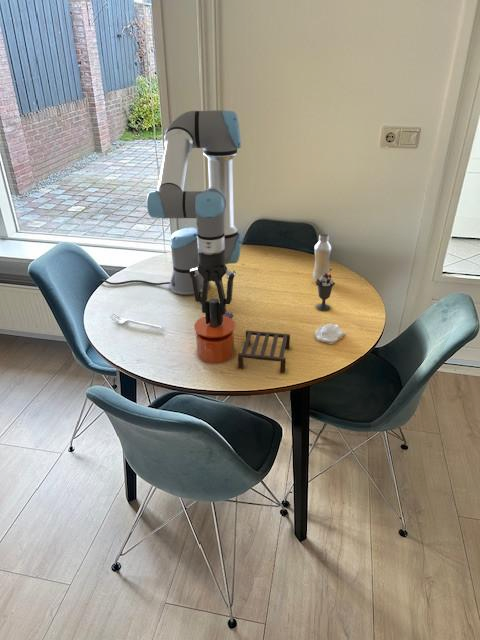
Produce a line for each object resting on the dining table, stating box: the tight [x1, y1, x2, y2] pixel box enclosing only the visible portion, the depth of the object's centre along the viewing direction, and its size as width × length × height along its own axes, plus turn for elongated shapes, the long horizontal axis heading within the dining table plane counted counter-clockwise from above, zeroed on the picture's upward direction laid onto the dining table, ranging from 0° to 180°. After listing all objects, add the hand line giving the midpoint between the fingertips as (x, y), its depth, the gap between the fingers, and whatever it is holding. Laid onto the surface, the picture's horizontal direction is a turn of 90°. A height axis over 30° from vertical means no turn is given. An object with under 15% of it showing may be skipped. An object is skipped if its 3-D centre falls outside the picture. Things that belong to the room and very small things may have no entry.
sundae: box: [315, 268, 336, 312], centre depth 171 cm, size 7×7×15 cm
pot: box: [195, 330, 235, 364], centre depth 148 cm, size 11×17×8 cm
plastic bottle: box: [311, 233, 332, 284], centre depth 188 cm, size 6×7×20 cm
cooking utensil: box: [109, 313, 163, 330], centre depth 165 cm, size 3×20×2 cm, turn 70°
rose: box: [314, 323, 346, 345], centre depth 156 cm, size 10×4×10 cm
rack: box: [237, 329, 291, 374], centre depth 146 cm, size 14×14×5 cm
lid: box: [193, 297, 236, 338], centre depth 144 cm, size 12×12×10 cm
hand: (214, 322), depth 145 cm, fingers closed on lid, 3 cm apart
